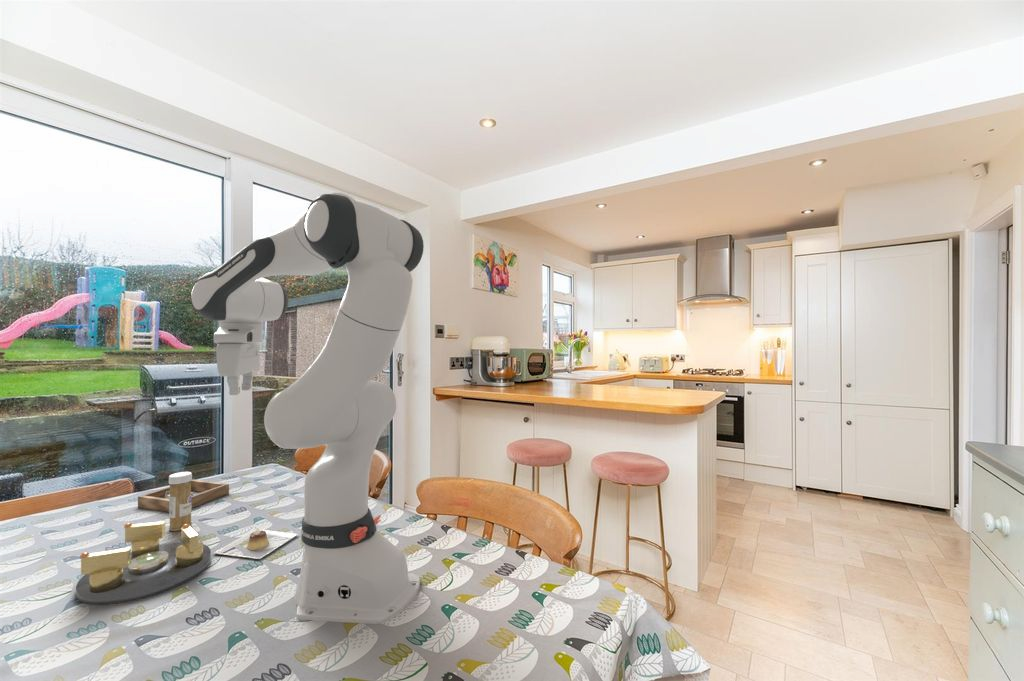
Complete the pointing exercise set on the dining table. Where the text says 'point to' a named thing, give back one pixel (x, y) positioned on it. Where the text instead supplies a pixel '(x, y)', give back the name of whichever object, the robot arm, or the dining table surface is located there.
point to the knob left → (105, 568)
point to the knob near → (189, 548)
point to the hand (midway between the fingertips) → (240, 392)
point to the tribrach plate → (146, 577)
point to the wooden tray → (207, 494)
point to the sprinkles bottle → (180, 500)
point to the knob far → (144, 537)
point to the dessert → (256, 541)
